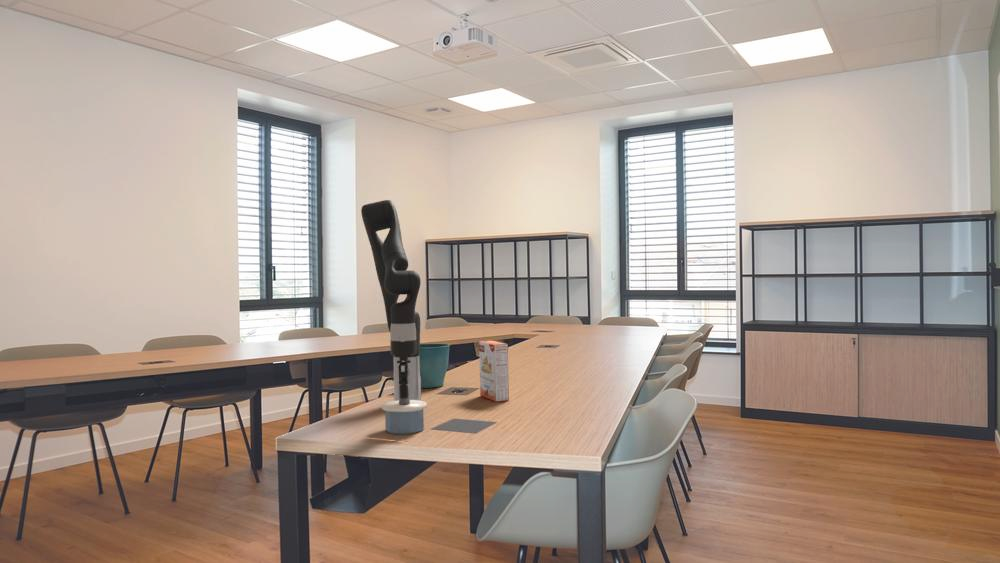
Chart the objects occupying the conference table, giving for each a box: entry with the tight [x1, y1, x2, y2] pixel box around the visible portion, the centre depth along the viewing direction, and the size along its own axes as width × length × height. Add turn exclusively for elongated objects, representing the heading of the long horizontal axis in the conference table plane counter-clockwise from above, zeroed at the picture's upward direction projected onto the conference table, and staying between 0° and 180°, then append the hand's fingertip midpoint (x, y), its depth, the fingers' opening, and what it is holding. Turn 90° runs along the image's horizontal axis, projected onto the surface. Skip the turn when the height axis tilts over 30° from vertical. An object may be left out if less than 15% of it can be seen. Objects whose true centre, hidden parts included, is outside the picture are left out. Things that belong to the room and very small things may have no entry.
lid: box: [381, 385, 428, 412], centre depth 189 cm, size 13×13×6 cm
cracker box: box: [478, 340, 510, 403], centre depth 238 cm, size 14×6×21 cm, turn 25°
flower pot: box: [419, 342, 451, 389], centre depth 268 cm, size 18×18×17 cm
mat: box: [430, 418, 498, 434], centre depth 194 cm, size 15×15×1 cm
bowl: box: [384, 409, 425, 435], centre depth 189 cm, size 11×11×7 cm
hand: (404, 396), depth 189 cm, fingers open, 4 cm apart
